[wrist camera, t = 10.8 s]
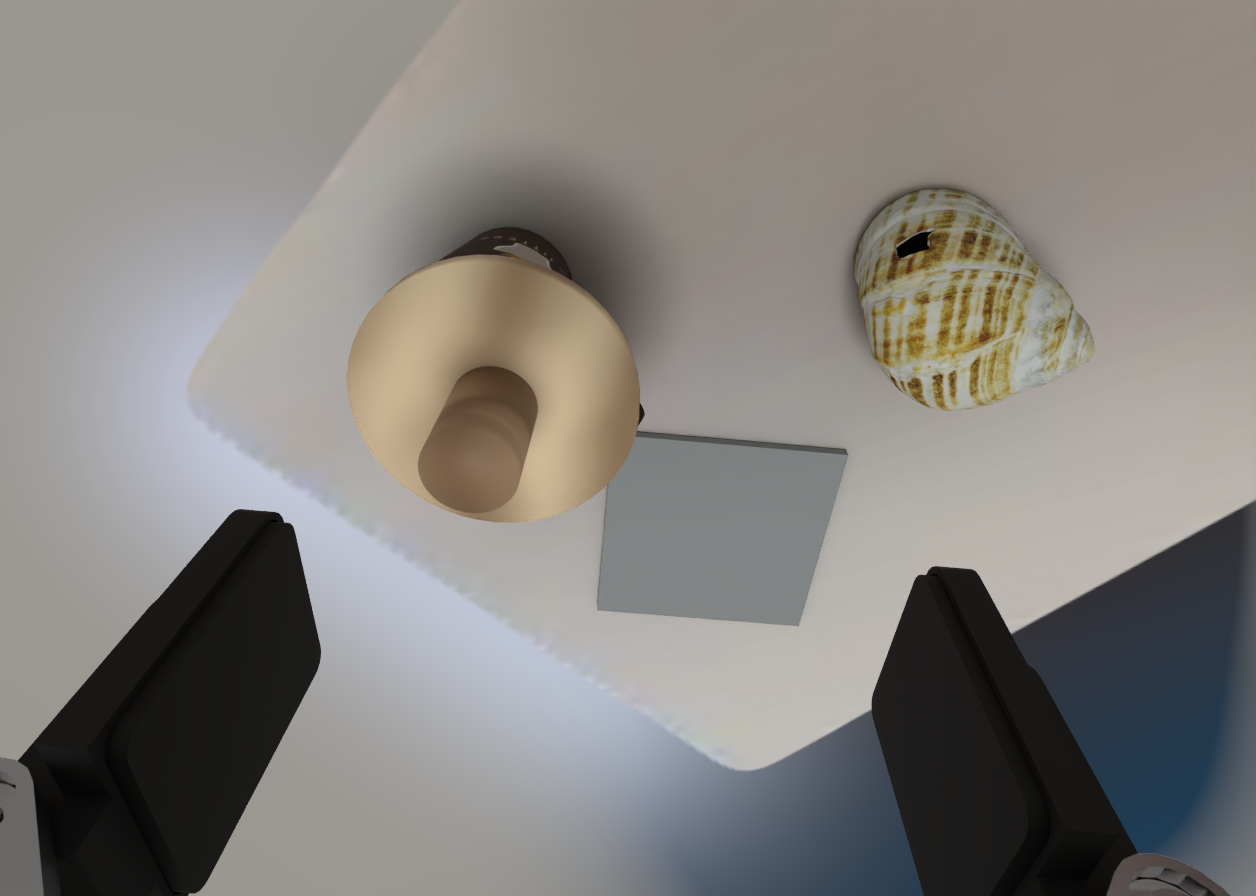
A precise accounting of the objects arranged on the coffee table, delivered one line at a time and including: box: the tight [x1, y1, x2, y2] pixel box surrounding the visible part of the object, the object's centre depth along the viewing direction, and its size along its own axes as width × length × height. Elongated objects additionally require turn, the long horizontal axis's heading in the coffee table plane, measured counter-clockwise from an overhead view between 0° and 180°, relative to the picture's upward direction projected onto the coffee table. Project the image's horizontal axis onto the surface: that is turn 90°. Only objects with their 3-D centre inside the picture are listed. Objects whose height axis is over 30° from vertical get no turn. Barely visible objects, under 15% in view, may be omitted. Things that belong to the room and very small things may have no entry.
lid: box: [347, 255, 640, 522], centre depth 28 cm, size 12×12×6 cm
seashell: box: [854, 189, 1095, 411], centre depth 35 cm, size 10×10×10 cm
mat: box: [597, 432, 848, 626], centre depth 47 cm, size 14×14×1 cm
